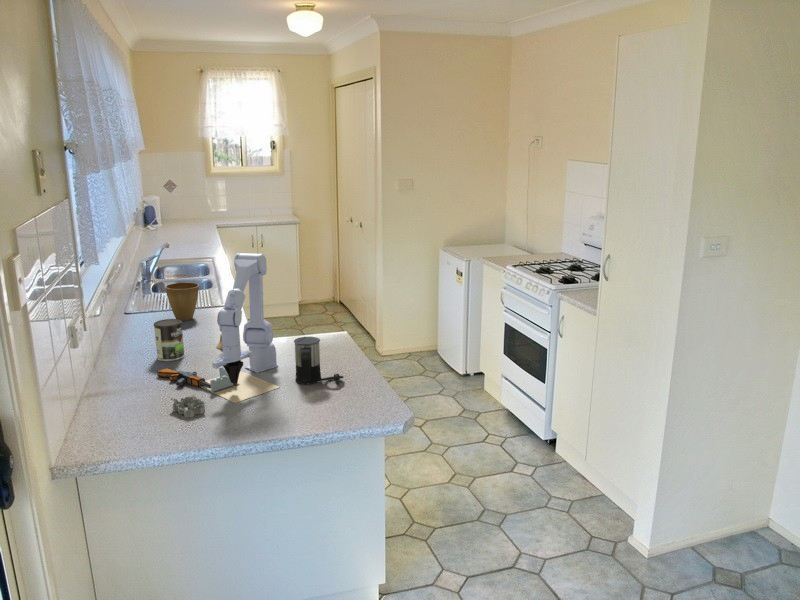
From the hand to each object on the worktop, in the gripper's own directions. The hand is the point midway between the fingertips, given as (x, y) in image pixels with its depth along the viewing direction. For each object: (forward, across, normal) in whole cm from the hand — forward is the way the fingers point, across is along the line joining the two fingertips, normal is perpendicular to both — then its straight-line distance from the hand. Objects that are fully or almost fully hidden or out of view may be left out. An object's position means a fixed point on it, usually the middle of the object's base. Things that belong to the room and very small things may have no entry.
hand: (234, 382), depth 221 cm
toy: (+4, +5, -21) cm, 21 cm away
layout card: (+4, -4, -4) cm, 7 cm away
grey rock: (+4, +18, +1) cm, 19 cm away
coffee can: (+4, -7, -49) cm, 50 cm away
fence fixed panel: (+3, -4, -10) cm, 11 cm away
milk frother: (+4, -25, +15) cm, 29 cm away
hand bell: (+4, -29, -42) cm, 51 cm away
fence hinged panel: (+3, 0, -5) cm, 6 cm away
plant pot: (+5, -42, -92) cm, 101 cm away
